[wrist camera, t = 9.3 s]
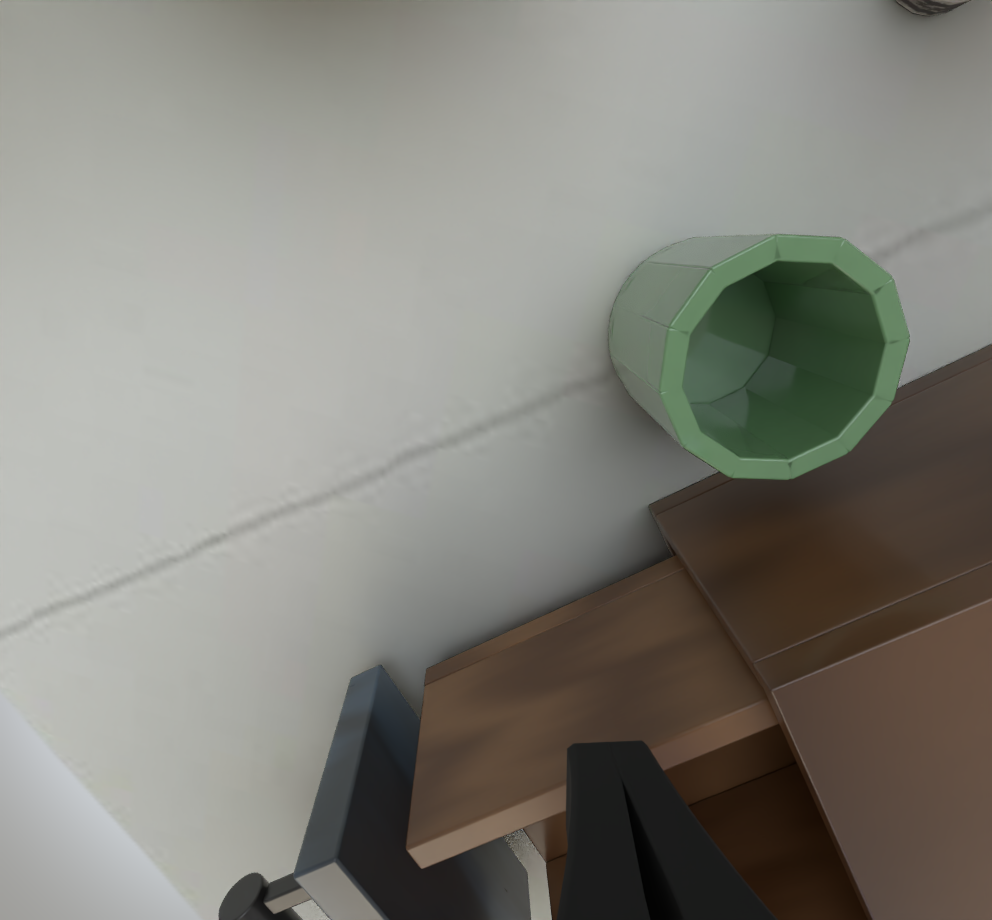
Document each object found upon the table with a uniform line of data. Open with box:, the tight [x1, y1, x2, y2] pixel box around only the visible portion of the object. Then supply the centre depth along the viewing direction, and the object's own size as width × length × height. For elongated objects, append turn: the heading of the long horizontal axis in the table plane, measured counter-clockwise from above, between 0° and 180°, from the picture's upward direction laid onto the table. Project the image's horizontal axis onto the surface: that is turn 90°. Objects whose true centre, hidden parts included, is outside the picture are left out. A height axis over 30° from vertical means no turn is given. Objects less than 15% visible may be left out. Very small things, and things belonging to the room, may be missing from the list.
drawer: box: [219, 555, 868, 920], centre depth 18 cm, size 18×11×7 cm, turn 117°
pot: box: [608, 234, 910, 480], centre depth 15 cm, size 5×5×6 cm
